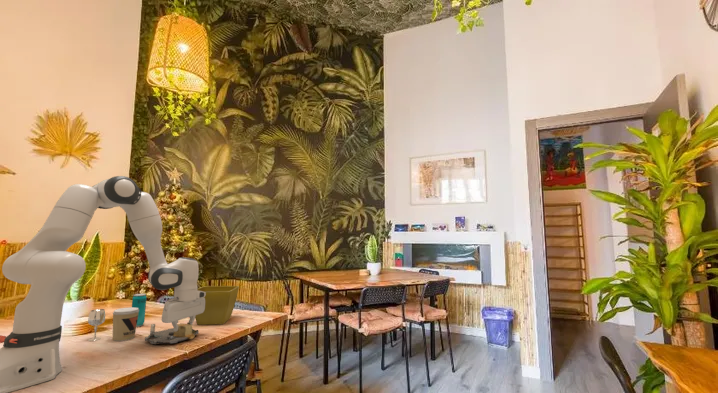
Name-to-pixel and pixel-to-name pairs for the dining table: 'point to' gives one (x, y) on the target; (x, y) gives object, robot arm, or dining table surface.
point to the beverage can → (140, 307)
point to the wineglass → (96, 320)
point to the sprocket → (167, 336)
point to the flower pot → (217, 304)
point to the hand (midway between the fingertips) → (183, 328)
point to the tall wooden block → (184, 330)
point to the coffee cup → (124, 323)
